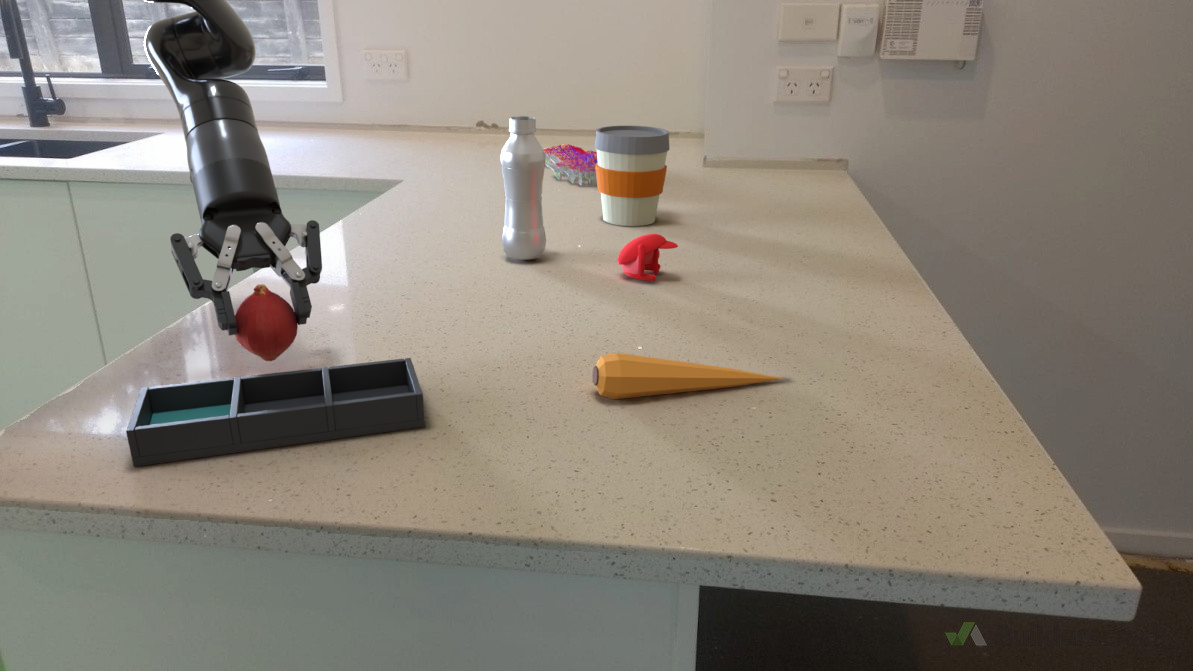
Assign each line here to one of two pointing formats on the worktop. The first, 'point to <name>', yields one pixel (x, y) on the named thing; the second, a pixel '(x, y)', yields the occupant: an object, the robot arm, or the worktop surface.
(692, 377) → the carrot
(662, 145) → the reusable coffee cup
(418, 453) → the worktop surface
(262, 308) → the onion
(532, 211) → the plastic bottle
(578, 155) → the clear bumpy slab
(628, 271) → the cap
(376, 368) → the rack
